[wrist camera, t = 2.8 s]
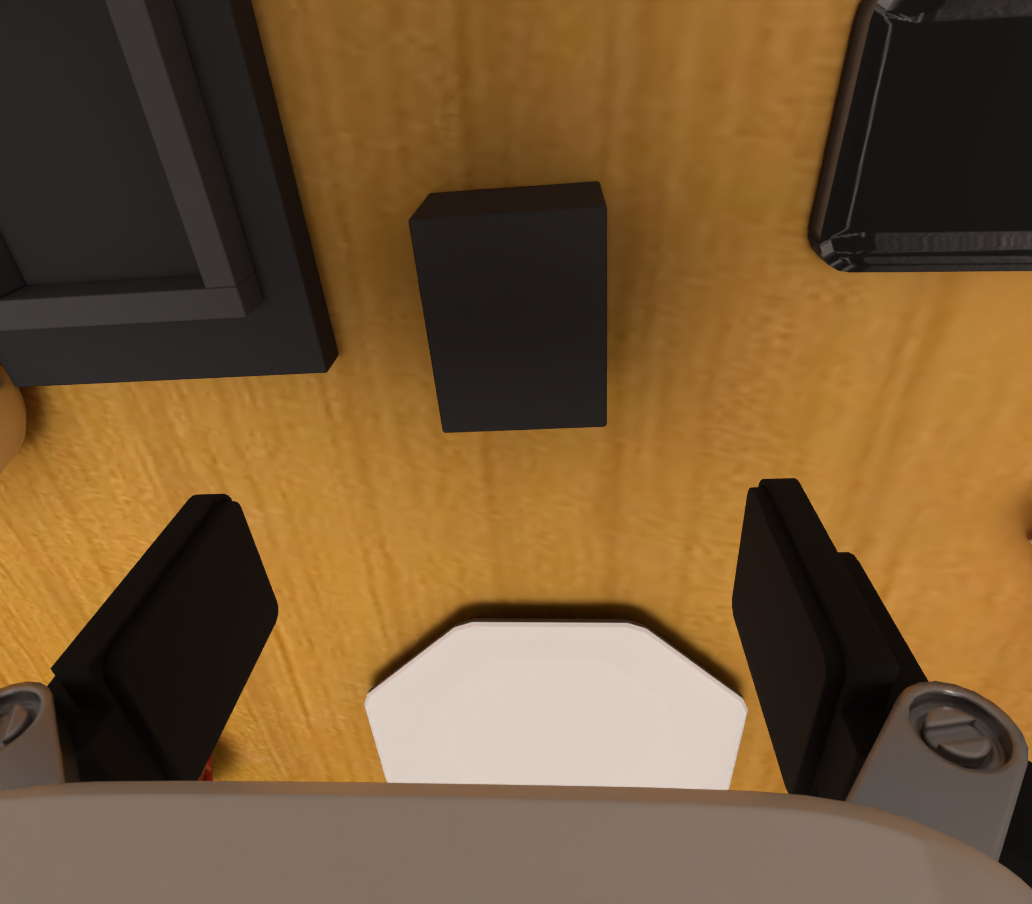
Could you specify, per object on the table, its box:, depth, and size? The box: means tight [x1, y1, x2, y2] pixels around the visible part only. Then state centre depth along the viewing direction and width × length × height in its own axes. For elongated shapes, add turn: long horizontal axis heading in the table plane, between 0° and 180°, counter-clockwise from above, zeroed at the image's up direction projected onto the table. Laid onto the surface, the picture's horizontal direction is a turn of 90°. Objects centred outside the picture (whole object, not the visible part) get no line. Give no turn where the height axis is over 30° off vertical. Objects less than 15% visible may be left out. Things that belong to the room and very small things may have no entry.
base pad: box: [0, 0, 338, 387], centre depth 19 cm, size 16×12×3 cm
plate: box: [364, 618, 748, 790], centre depth 35 cm, size 20×20×2 cm
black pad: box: [409, 181, 607, 433], centre depth 21 cm, size 7×6×4 cm
